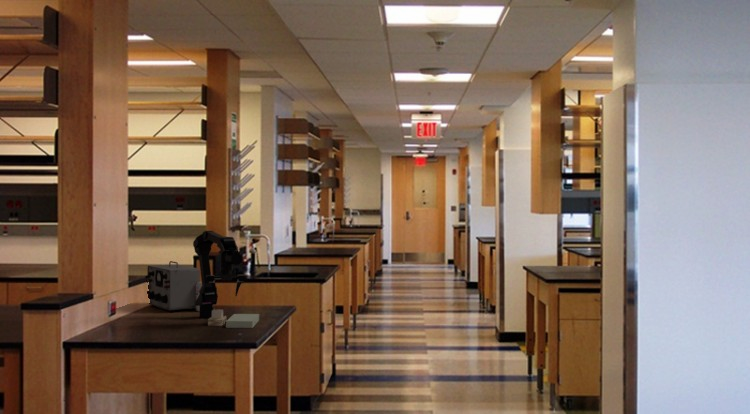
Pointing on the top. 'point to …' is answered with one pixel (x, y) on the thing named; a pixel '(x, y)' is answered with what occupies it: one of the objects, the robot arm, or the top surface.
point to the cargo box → (217, 313)
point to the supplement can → (198, 287)
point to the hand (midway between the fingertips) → (226, 296)
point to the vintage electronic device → (172, 286)
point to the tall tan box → (216, 321)
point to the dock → (242, 321)
